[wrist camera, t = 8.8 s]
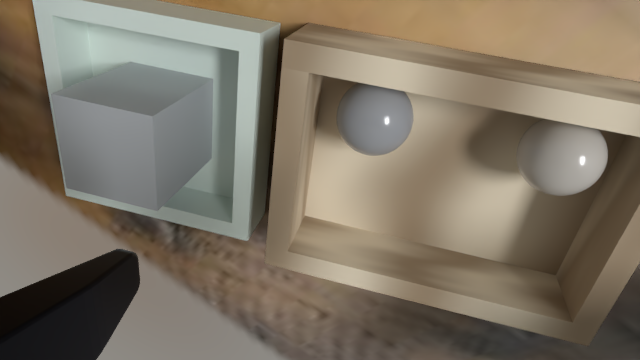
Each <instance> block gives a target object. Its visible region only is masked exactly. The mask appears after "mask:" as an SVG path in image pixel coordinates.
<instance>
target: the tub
mask: <svg viewBox="0 0 640 360" xmlns="http://www.w3.org/2000/svg"><path fill="white" fill-rule="evenodd" d="M32 1H33V7H34V13H35V18H36V24H37V30H38V36H39V41H40V47H41V53H42V59H43V65H44V70H45V76H46V82H47V88H48V94H49V99H50V105H51V111H52V117H53V123H54V128H55V134H56V140H57V146H58V151H59V157H60V163H61V169H62V175H63V180H64V186H65V192H66V196H70V197H74V198H78V199H82V200H86V201H90V202H94V203H98V204H102V205H106V206H110V207H114V208H118V209H122V210H126V211H130V212H134V213H138V214H142V215H146V216H150V217H154V218H158V219H162V220H166V221H170V222H174V223H178V224H182V225H186V226H190V227H194V228H198V229H202V230H206V231H210V232H213V233H217V234H221V235H225V236H229V237H233V238H237V239H241V240H245V241H248V239H249V238H250V236H251V235H252V233H253V231H254V230H255V228H256V227H257V225H258V223H259V222H260V220H261V219H262V217H263V216H264V214H265V205H266V193H267V180H268V168H269V156H270V144H271V132H272V120H273V108H274V96H275V84H276V72H277V60H278V47H279V35H280V23H279V22H273V21H268V20H262V19H257V18H251V17H245V16H240V15H234V14H229V13H223V12H218V11H212V10H207V9H201V8H196V7H190V6H185V5H179V4H174V3H168V2H163V1H157V0H32ZM129 62H135V63H140V64H144V65H149V66H154V67H159V68H164V69H169V70H173V71H178V72H183V73H188V74H193V75H198V76H202V77H207V78H212V79H213V123H212V159H211V160H210V161H209V162H208V163H207V164H206V165H205V166H203V167H202V168H201V169H200V170H199V171H198V172H197V173H196V174H195V175H194V176H193V177H192V178H191V179H190V180H189V181H188V182H187V183H186V184H185V185H184V186H183V187H182V188H181V189H180V190H179V191H178V192H177V193H176V194H175V195H174V196H173V197H172V198H170V199H169V200H168V201H167V202H166V203H165V204H164V205H163V206H162V207H161V208H160V209H159V210H158V211H155V210H151V209H147V208H143V207H139V206H135V205H131V204H127V203H123V202H119V201H115V200H111V199H107V198H103V197H99V196H96V195H92V194H88V193H84V192H80V191H76V190H72V189H68V188H66V182H65V176H64V170H63V164H62V158H61V152H60V146H59V140H58V133H57V127H56V121H55V115H54V109H53V103H52V97H51V94H52V93H54V92H57V91H59V90H62V89H64V88H67V87H69V86H72V85H74V84H77V83H79V82H82V81H84V80H87V79H89V78H92V77H94V76H97V75H99V74H102V73H104V72H107V71H109V70H112V69H114V68H117V67H119V66H122V65H124V64H127V63H129Z"/></svg>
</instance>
